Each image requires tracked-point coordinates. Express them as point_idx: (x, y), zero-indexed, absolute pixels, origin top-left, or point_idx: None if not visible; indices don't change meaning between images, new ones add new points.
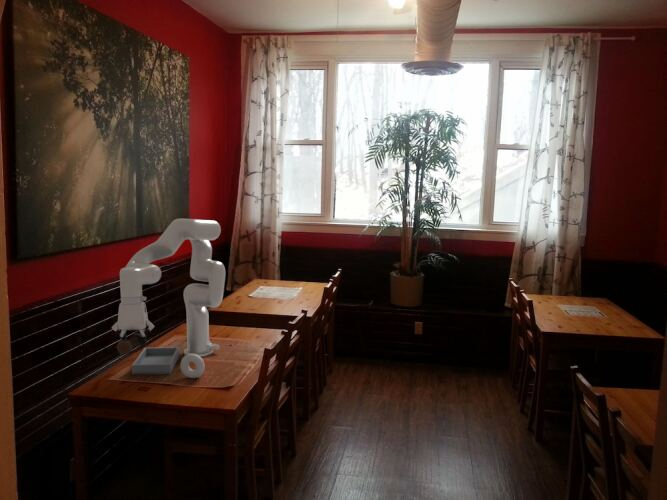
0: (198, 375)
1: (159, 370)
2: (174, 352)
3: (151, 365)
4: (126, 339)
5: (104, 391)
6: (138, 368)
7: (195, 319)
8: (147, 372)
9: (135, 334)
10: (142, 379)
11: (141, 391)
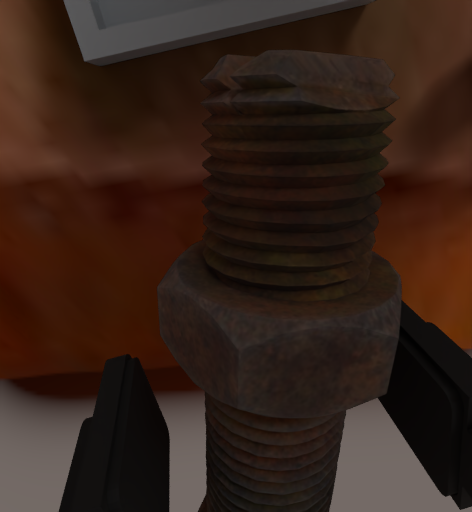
0: None
1: (302, 16)
2: None
3: (253, 23)
4: (136, 445)
5: (97, 328)
6: (144, 51)
7: None
8: (211, 39)
9: (285, 409)
10: None
11: None
